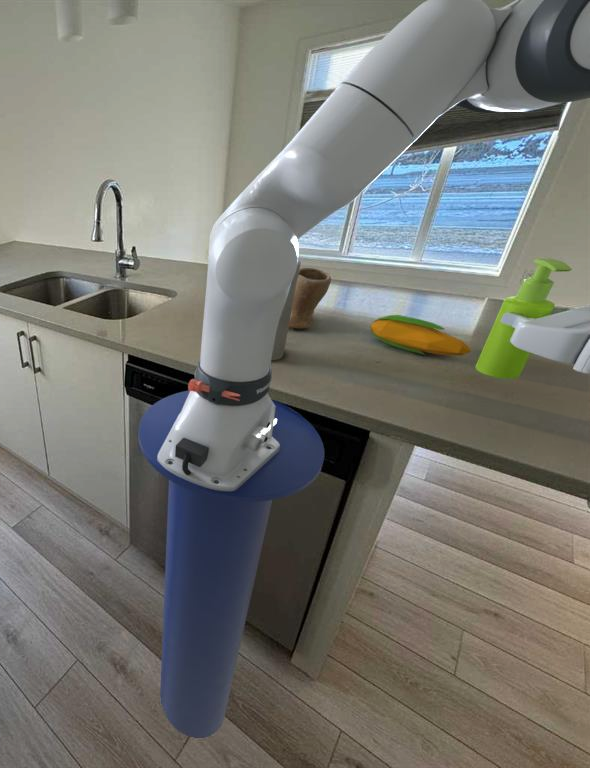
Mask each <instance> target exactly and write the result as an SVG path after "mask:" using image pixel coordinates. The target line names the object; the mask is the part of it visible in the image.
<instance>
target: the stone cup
mask: <svg viewBox="0 0 590 768" xmlns="http://www.w3.org/2000/svg"><path fill="white" fill-rule="evenodd" d="M331 282H332V277H331V275H330V274H329V273H328V272H326V271H324V270H321V269H319V268H315V267H300V269H299V274H298V280H297V285H296V290H295V296H294V301H293V306H292V311H291V316H290V321H289V327H288V329H299V330H300V329H308V328H310V327H311V326H312V325H313V323H314V319H315V310H316V308H317V306H318V305H319V304H320V302H321V301H322V300H323V298H324V297H325V296H326V295H327V293H328V291H329V288H330V285H331Z"/></svg>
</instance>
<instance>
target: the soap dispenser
mask: <svg viewBox="0 0 590 768" xmlns="http://www.w3.org/2000/svg"><path fill="white" fill-rule="evenodd" d="M533 263H534V264H537V267H536V269H535V271H534V273H533V275H532V276H531V277H527V278H525V279H523V281H522V282H521V285H520V288H519V290H518V292H517V295H515V296H514V295H513V296H507V297H505V298H504V299H503V301H502V303H501V307H500V308H499V311H498V313H497V316H496V318H495V320H494V322H493V325H492V327H491V330H490V332H489V334H488V336H487V339H486V341H485V342H484V343H485V344H484V346H483V348H482V350H481V353H480V355H479V357H478V360H477V362H476V364H475V366H474V367H475V370H476V371H477V372H479V373H480V374H483V375H485V376H489V377H491V378H492V377H493V378H497V379H504V380H505V379H508V380H509V379H511V380H512V379H517V378H519V377H520V376H521V374H522V372H523V370H524V368H525V366H526V364H527V362H528V360H529V357H530V356H531V354H532V353H529V352H527V351H524V350H521V349H519V348H517V347H515V346H514V345H513V344H512V343H511V342H510V340H511V337H512V335H513V333H514V331H515V328H514V327H512V326H510V325H507V324H503V323H501V319H502V316H503V314H505V313H509V312H516V313H520V314H523V316H524V317H526V318H529V319H530V318H534V319H537V318H541V317H545V316H549V315H550V314H551V312H552V310H553V308H554V307H555V306H556V304H555V303H554V302H553V301H551V300H548V299H547V298H548V296H549V294H550V292H551V289H552V288H553V286H554V281H553V280H552V279H550V278H549V277H550V274H551V273H553V272H557V273H559V272H570V271H572V270H573V269H572V267H570V266H569V264H567V263H565V262H564V261H561V260H558V259H554V258H534V261H533Z"/></svg>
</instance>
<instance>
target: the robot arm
mask: <svg viewBox="0 0 590 768" xmlns="http://www.w3.org/2000/svg"><path fill="white" fill-rule="evenodd" d="M589 98H590V0H514V1H512V2H510V3H509V4H507V5H506V6H503V7H501V8H499V9H496V8H493V7H489V6H488V5H487V3H486V2H485V1H483V0H425V1H423V2H422V3H421V4H419V5H418V6H416V8H414V9H413V10H412V11H411V12H410V13H409V14H408V15H407V16H405V17H404V18H403V19H402V20H400V22H398V24H396V25H395V26H394V27H393V28H392V29H391V30H390V31H389V32H388V33H387V34H385V36H383V37H382V39H381V40H380V41H378V43H377V44H376V45H375V46H374V47H373V48H371V49H370V51H369V52H368V53H366V55H365V56H364V57H363V58H362V59H361V60H360V61H359V62H358V63H357V64H356V65H355V66H354V67H353V69H351V71H350V72H349V73H348V74H347V75H346V76H345V78H344V79H342V80H341V82H340V83H339V84H338V86H336V88H335V89H334V90H333V91H332V92H331V93H330V94H329V96H328V97H327V98H326V100H324V102H323V103H322V104H321V105H320V106H319V108H317V110H316V111H315V112H314V113H313V114H312V115H311V117H310V118H309V119H308V120H307V122H305V124H304V125H303V126H302V127H301V128H300V130H299V131H298V132H297V133H296V135H294V137H293V138H292V139H291V140H290V141H289V142H288V144H287V145H286V146H285V147H284V148H283V149H282V150H281V151H280V152H279V154H277V155H276V156H275V157H274V158H273V159H272V160H271V161H270V163H268V164H267V166H266V167H265V168H263V169H262V171H261V172H260V173H259V174H258V175H257V176H256V177H254V179H253V180H252V181H251V182H250V183H249V184H248V185H247V186H246V188H245V189H244V190H243V191H241V193H240V194H239V195H238V196H237V197H236V198H235V199H234V200H233V202H231V204H229V206H228V207H227V208H226V209H225V210H224V212H223V213H222V214H221V215H220V216H219V217H218V219H216V221H215V222H214V224H213V226H212V228H211V231H210V233H209V234H210V235H209V240H208V241H209V242H208V245H209V246H208V257H207V258H208V259H207V273H206V274H207V275H206V286H205V287H206V288H205V299H204V311H203V318H202V320H203V321H202V330H201V331H202V332H201V333H202V335H201V344H200V356H199V357H200V359H199V360H198V363H197V366H196V368H195V370H194V371H195V372H194V378H192V379H190V380H189V381H188V384H187V385H188V386H187V391H190V393H189V395H188V397H187V399H186V402H185V404H184V406H183V408H182V411H181V413H180V414H179V415H178V417H177V419H176V421H175V423H174V425H173V427H172V429H171V430H170V432H169V434H168V436H167V438H166V440H165V442H164V444H163V445H162V447H161V449H160V451H159V453H158V457H157V460H158V462H159V463H160V464H161V465H162V466H163V467H164V468H165V469H167V470H168V471H169V472H171V473H173V474H174V475H176V476H178V477H180V478H182V479H184V480H186V481H189V482H191V483H194V484H196V485H199V486H202V487H205V488H209V489H213V490H218V491H231V492H232V491H235V490H237V489H238V488H239V487H240V486H241V485H242V484H244V483H245V482H246V481H247V480H248V479H249V478H250V477H251V476H252V475H253V474H255V473H256V472H257V471H258V470H259V469H260V468H261V467H262V466H263V465H264V464H265V463H267V462H268V461H269V460H270V459H271V458H272V457H273V456H274V455H275V454H276V453H278V452H279V450H280V444H279V443H278V442H277V441H276V440H275V439H274V438H273V437H272V431H273V426H274V425H275V424H276V422H277V419H274V415H275V405H274V403H273V402H272V400H273V399H272V398H271V396H270V395H269V391H270V387H271V384H272V380H273V379H272V375H273V374H272V372H273V370H272V367H271V363H272V360H271V358H272V352H273V347H274V341H275V335H276V330H277V326H278V322H279V319H280V316H281V313H282V311H283V308H284V305H285V302H286V299H287V296H288V293H289V289H290V286H291V282H292V279H293V278H294V275H295V273H296V269H297V264H298V261H299V257H300V251H299V250H300V249H299V242H298V240H300V239H301V238H302V237H303V236H304V235H305V234H307V233H308V232H309V231H311V230H312V229H313V228H315V227H316V226H317V225H319V224H320V223H322V222H323V221H324V220H326V219H327V218H329V217H330V216H331V215H333V214H334V213H336V212H337V211H339V210H341V209H343V208H345V207H347V206H348V205H349V204H352V202H353V201H355V200H356V199H357V198H358V197H359V196H360V195H361V194H362V193H363V192H364V191H365V190H366V189H367V188H368V187H369V186H370V185H371V184H372V183H373V182H374V181H376V179H378V177H379V176H380V175H381V174H382V173H384V172H385V171H386V170H387V169H388V168H389V167H390V166H391V165H393V163H394V162H395V161H396V160H397V159H398V158H399V157H400V156H401V155H402V154H404V153H405V152H406V150H408V149H409V147H411V146H412V145H413V143H415V142H416V141H417V140H418V139H419V138H420V137H421V136H422V135H423V134H424V133H425V132H426V131H427V130H428V129H429V128H430V127H431V126H432V125H433V124H434V123H435V121H436V120H437V119H438V118H439V117H441V116H443V115H444V114H445V113H446V112H449V110H450V109H452V108H453V107H455V106H457V107H461V108H463V109H466V110H469V111H472V112H474V113H475V112H476V113H480V114H497V113H503V112H517V113H518V112H529V111H535V110H540V109H545V108H549V107H553V106H557V105H561V104H564V103H571V102H579V101H582V100H587V99H589ZM501 323H503V324H507V325H510V326H512V327H514V328H515V331H514V333H513V335H512V337H511V340H510V342H511V343H512V344H513V345H514V346H515V347H517V348H519V349H521V350H524V351H527V352H529V353H531V354H532V355H535V356H537V357H541V358H544V359H546V360H550V361H554V362H557V363H561V364H567V365H573V368H572V369H573V370H574V371H576V372H578V373H582V374H586V375H590V304H588V305H584V306H581V307H578V308H577V307H571V306H570V307H569V306H556V305H555V306H554V308H553V310H552V312H551V314H550V315H549V316H545V317H541V318H537V319H534V318H530V319H529V318H526V317H524V316H523V314H520V313H516V312H509V313H505V314H503V316H502V319H501ZM170 464H171V465H170ZM215 483H217V484H215Z"/></svg>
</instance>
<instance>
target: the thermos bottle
mask: <svg viewBox="0 0 590 768" xmlns="http://www.w3.org/2000/svg"><path fill="white" fill-rule="evenodd" d="M300 268H301V261H300V260H298V264H297V269H296V273H295V275H294V278H293V279H292V282H291V286H290V289H289V293H288V296H287V299H286V302H285V305H284V308H283V311H282V313H281V316H280V319H279V322H278V326H277V330H276V335H275V341H274V347H273V352H272V358H271V361H277V360H280V359H281V358H283V357H284V353H285V347H286V343H287V337H288V332H289V328H288V327H289V321H290V316H291V311H292V306H293V301H294V296H295V290H296V285H297V280H298V274H299V269H300Z"/></svg>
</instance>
